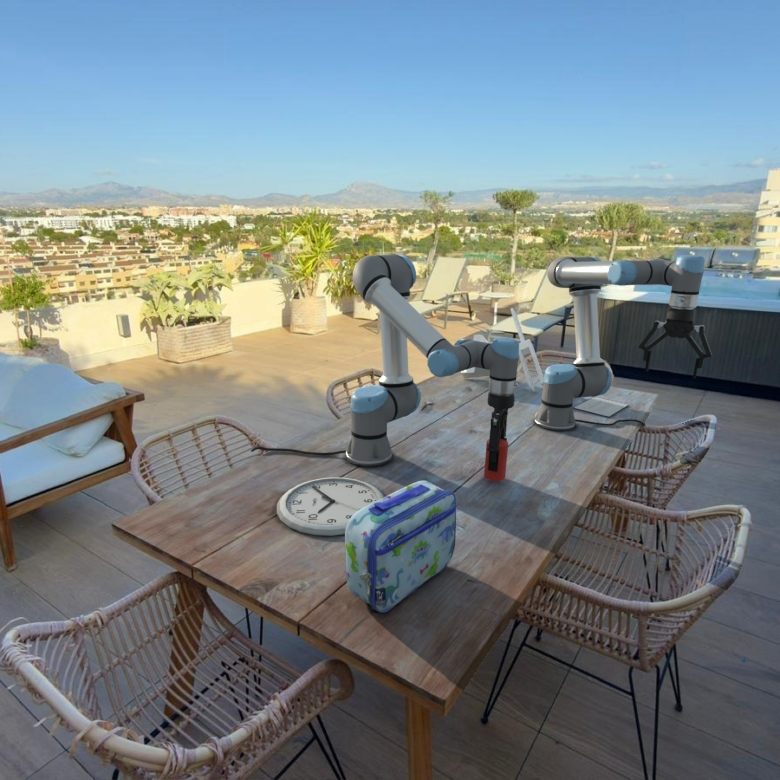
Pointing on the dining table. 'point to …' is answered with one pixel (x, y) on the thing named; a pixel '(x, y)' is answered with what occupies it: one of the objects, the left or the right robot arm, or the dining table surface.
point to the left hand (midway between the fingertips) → (495, 465)
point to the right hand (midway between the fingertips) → (669, 374)
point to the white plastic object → (524, 349)
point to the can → (501, 463)
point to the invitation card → (601, 406)
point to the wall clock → (325, 504)
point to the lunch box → (399, 543)
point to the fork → (427, 403)
